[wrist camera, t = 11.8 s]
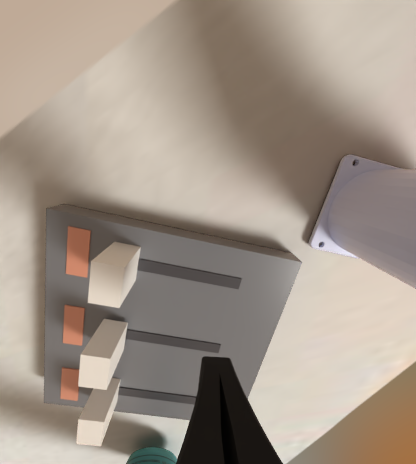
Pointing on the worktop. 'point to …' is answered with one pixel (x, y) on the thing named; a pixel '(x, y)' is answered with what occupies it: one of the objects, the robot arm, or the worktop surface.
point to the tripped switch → (102, 354)
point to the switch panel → (153, 311)
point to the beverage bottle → (152, 456)
